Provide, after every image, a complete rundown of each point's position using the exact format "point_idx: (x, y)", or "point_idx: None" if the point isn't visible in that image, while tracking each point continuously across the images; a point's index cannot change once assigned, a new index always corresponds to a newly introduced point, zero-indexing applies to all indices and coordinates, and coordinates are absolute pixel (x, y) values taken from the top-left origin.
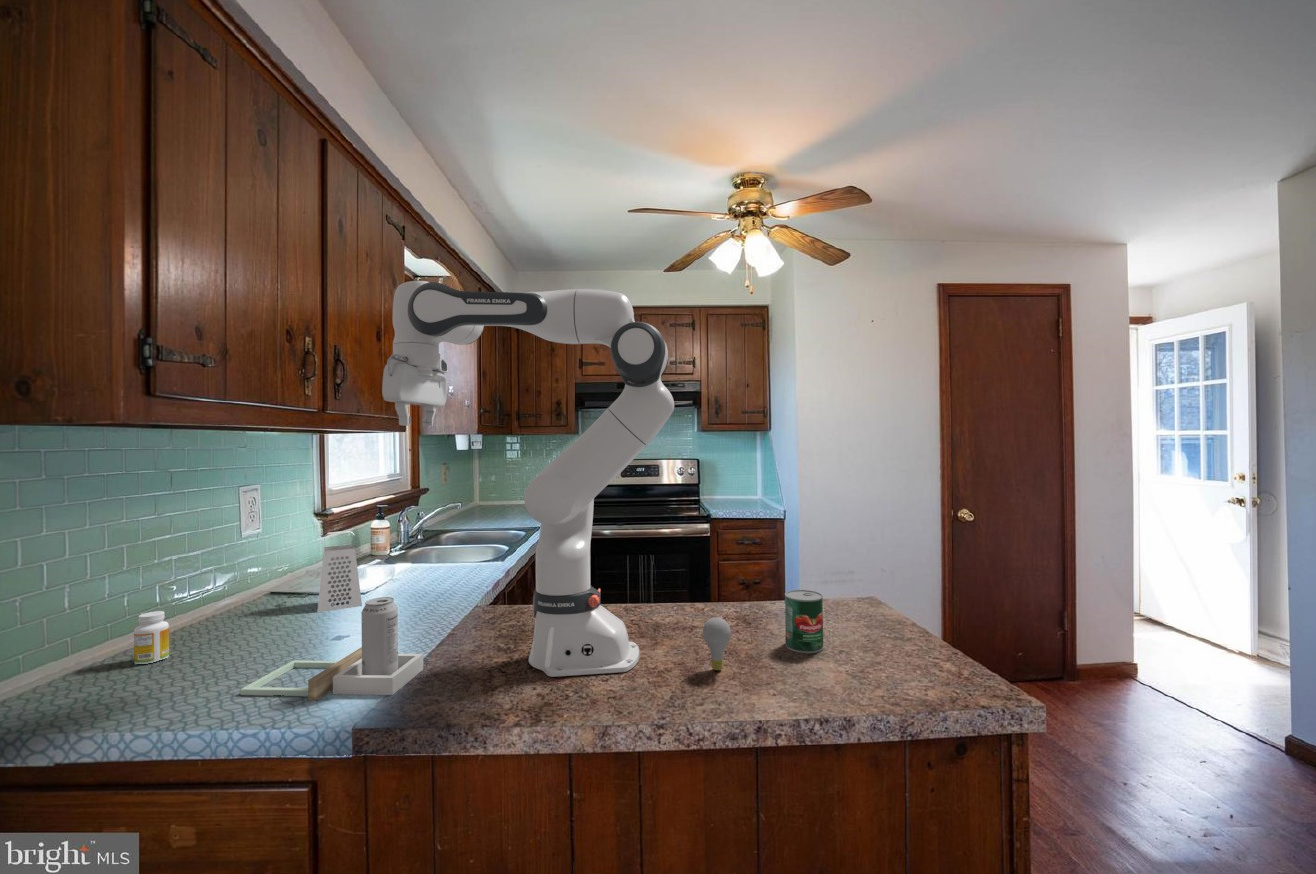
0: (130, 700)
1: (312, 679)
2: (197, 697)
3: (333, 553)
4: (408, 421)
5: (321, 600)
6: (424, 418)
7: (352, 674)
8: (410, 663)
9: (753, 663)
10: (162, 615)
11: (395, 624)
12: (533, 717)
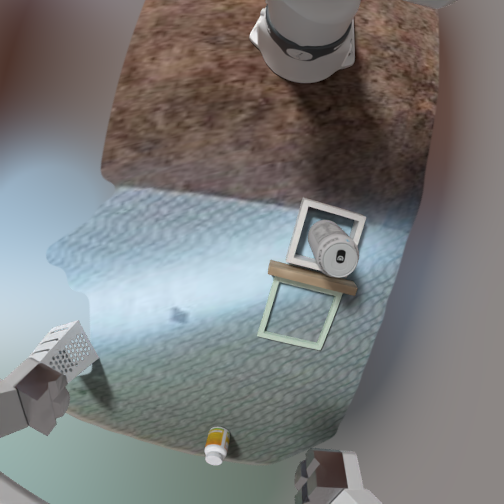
0: (303, 411)
1: (354, 292)
2: (313, 375)
3: None
4: (348, 462)
5: (91, 361)
6: (26, 424)
7: None
8: (331, 207)
9: None
10: (213, 454)
11: (340, 231)
12: (426, 88)
